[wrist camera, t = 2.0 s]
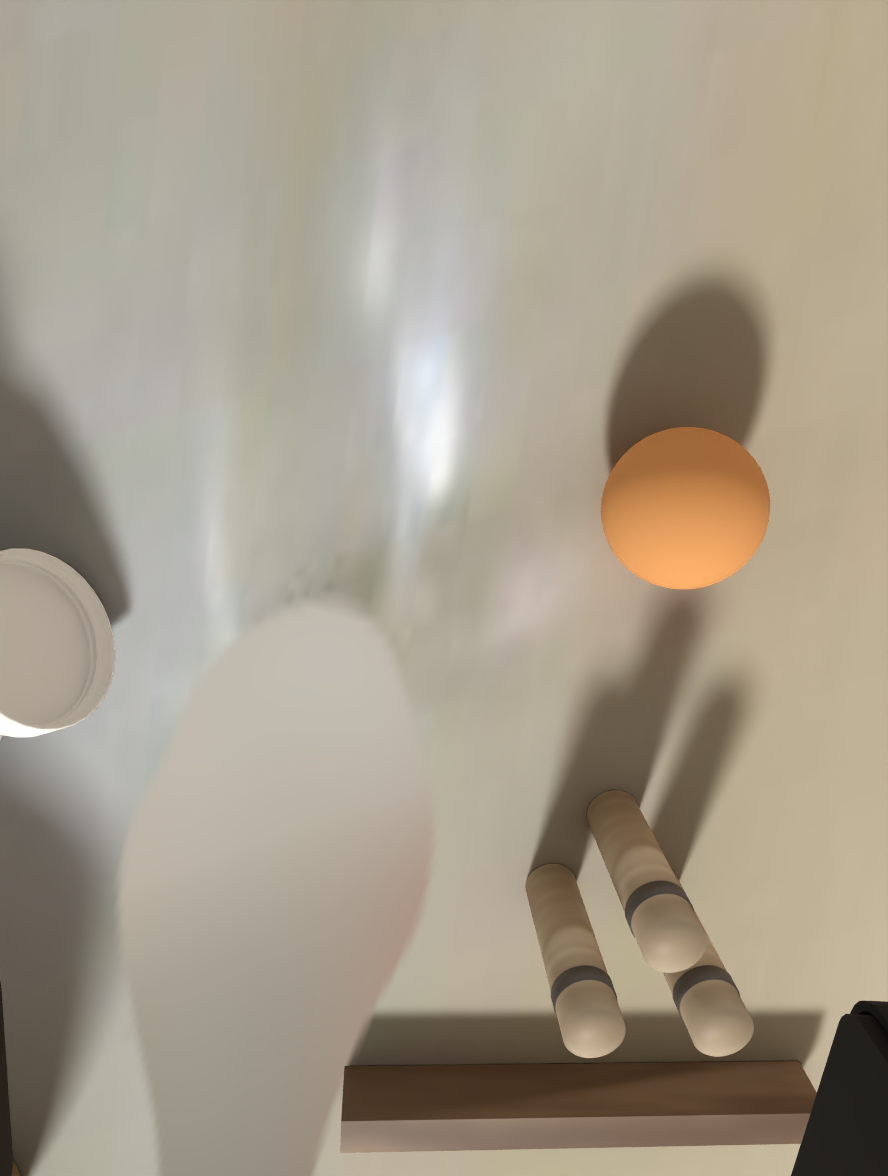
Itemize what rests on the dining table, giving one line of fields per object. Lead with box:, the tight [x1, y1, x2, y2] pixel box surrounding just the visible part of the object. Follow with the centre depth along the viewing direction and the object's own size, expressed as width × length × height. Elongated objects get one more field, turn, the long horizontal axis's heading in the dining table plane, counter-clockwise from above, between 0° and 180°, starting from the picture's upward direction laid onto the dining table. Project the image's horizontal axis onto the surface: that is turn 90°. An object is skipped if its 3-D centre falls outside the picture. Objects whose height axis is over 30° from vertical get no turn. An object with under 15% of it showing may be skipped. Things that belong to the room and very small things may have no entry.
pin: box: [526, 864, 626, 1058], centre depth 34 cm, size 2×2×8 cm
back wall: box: [340, 1061, 817, 1153], centre depth 41 cm, size 2×24×3 cm, turn 86°
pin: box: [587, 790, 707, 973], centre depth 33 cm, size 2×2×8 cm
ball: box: [601, 427, 770, 589], centre depth 30 cm, size 6×6×6 cm
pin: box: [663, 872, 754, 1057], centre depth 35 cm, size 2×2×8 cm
